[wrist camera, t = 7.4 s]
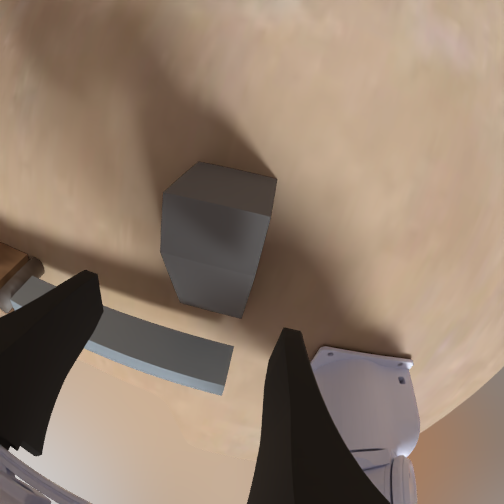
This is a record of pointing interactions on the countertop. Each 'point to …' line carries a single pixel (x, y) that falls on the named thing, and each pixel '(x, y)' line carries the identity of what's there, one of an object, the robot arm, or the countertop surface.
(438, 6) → the countertop surface
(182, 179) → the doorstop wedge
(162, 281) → the countertop surface
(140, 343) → the long pale blue beam
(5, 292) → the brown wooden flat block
